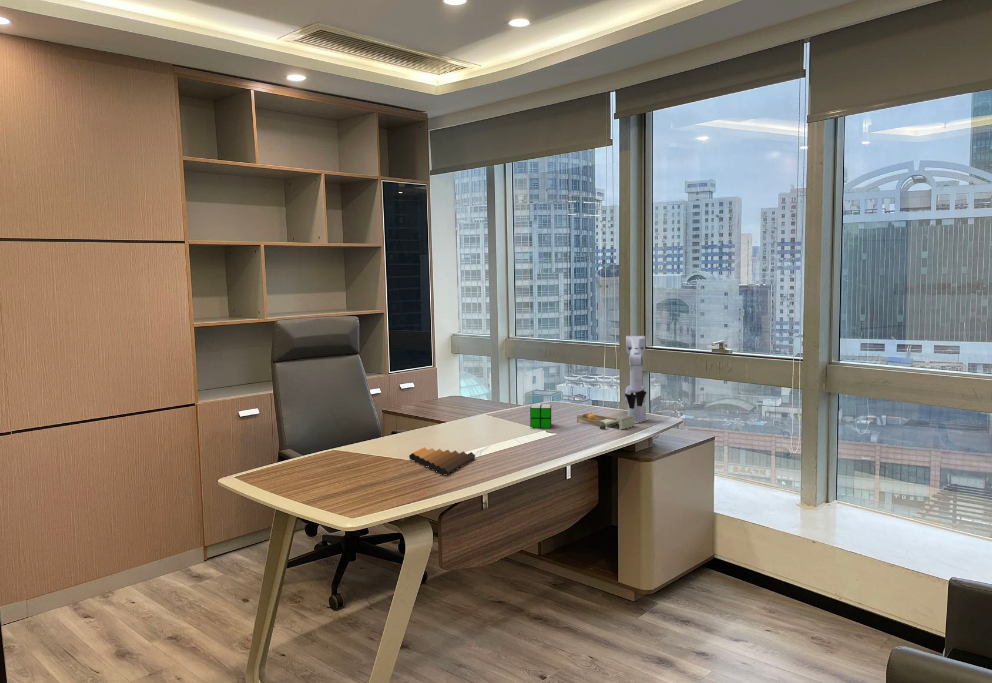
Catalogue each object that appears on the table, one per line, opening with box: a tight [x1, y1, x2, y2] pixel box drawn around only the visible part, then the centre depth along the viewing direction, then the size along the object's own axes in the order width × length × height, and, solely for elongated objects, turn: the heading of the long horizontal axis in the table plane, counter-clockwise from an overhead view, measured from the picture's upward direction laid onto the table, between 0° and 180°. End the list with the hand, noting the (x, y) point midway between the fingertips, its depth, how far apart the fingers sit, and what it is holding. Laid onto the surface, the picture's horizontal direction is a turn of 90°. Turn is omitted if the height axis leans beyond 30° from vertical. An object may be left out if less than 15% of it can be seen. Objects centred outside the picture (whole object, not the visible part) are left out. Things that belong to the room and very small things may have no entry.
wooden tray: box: [576, 411, 618, 427], centre depth 352 cm, size 11×16×4 cm
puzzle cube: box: [529, 403, 552, 429], centre depth 345 cm, size 10×10×10 cm
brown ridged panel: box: [408, 447, 476, 475], centre depth 277 cm, size 25×3×25 cm
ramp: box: [602, 415, 635, 430], centre depth 344 cm, size 10×16×6 cm, turn 46°
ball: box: [588, 413, 596, 420], centre depth 354 cm, size 4×4×4 cm
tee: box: [599, 425, 607, 430], centre depth 338 cm, size 3×3×2 cm
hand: (635, 407), depth 339 cm, fingers open, 7 cm apart
